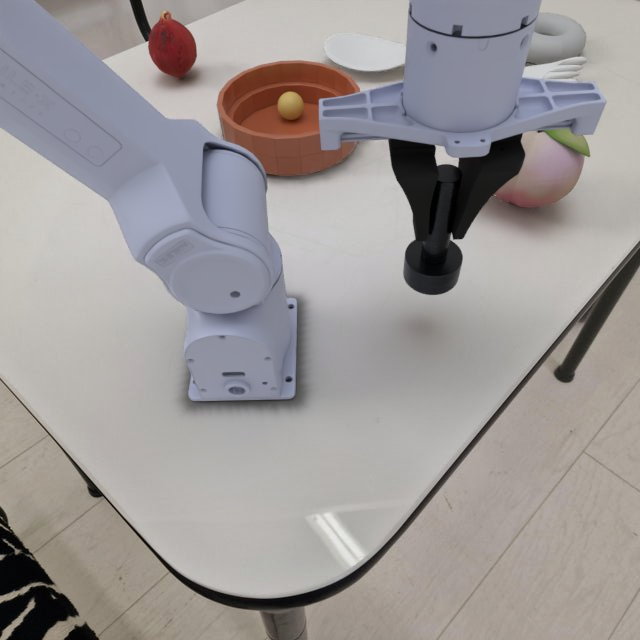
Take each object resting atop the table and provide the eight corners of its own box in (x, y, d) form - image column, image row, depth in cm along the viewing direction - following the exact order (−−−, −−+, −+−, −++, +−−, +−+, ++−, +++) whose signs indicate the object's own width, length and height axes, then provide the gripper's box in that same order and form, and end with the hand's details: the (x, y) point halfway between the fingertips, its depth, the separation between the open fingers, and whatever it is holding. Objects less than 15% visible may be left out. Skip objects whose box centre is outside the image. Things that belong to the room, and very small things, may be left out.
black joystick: (462, 294, 36) (487, 193, 29) (405, 296, 36) (416, 197, 29) (454, 253, 39) (475, 150, 31) (400, 255, 39) (409, 154, 32)
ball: (304, 124, 59) (303, 100, 56) (278, 125, 59) (275, 101, 56) (304, 110, 61) (303, 85, 58) (279, 111, 61) (276, 86, 58)
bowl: (363, 178, 54) (365, 135, 50) (218, 182, 54) (209, 140, 50) (355, 99, 63) (356, 58, 59) (231, 103, 63) (224, 62, 59)
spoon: (571, 120, 59) (583, 91, 56) (313, 74, 67) (312, 47, 64) (578, 81, 64) (589, 53, 61) (337, 43, 72) (337, 16, 69)
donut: (546, 29, 73) (487, 43, 70) (554, 2, 70) (494, 16, 68) (596, 60, 67) (535, 77, 65) (608, 32, 64) (544, 49, 62)
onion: (193, 91, 65) (177, 24, 59) (150, 87, 66) (130, 21, 59) (208, 68, 68) (194, 2, 62) (167, 65, 69) (150, 0, 63)
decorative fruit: (575, 193, 51) (619, 99, 43) (548, 243, 47) (591, 149, 39) (486, 163, 55) (512, 71, 47) (454, 207, 51) (476, 114, 43)
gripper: (311, 64, 21) (328, 280, 32) (675, 39, 20) (566, 269, 31) (312, -9, 25) (327, 204, 36) (614, -31, 25) (537, 193, 35)
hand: (437, 229), depth 34 cm, fingers closed on black joystick, 2 cm apart
